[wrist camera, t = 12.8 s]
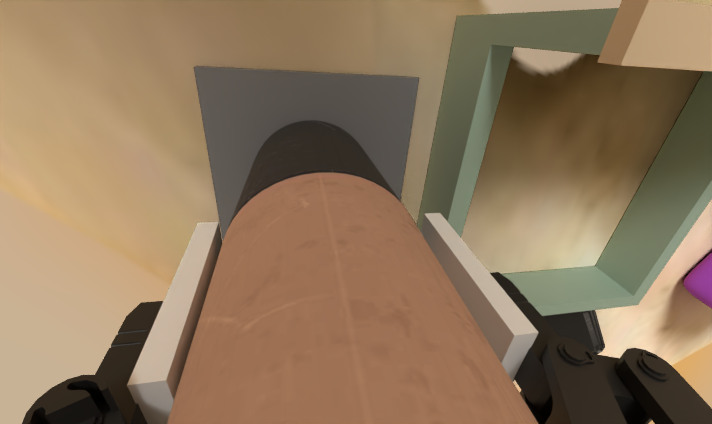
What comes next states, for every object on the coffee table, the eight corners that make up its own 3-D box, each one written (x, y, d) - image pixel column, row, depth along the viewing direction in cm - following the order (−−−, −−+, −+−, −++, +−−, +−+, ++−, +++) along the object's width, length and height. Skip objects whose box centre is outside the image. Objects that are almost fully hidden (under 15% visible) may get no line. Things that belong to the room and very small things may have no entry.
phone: (546, 380, 39) (512, 318, 31) (540, 372, 40) (506, 310, 32) (606, 349, 38) (587, 277, 30) (599, 341, 39) (578, 269, 31)
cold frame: (457, 11, 17) (649, -3, 8) (736, 38, 21) (1072, 48, 12) (404, 292, 28) (463, 425, 18) (599, 274, 32) (728, 376, 22)
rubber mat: (195, 66, 16) (193, 67, 16) (416, 77, 19) (419, 78, 18) (226, 254, 22) (225, 257, 22) (391, 244, 25) (393, 247, 24)
